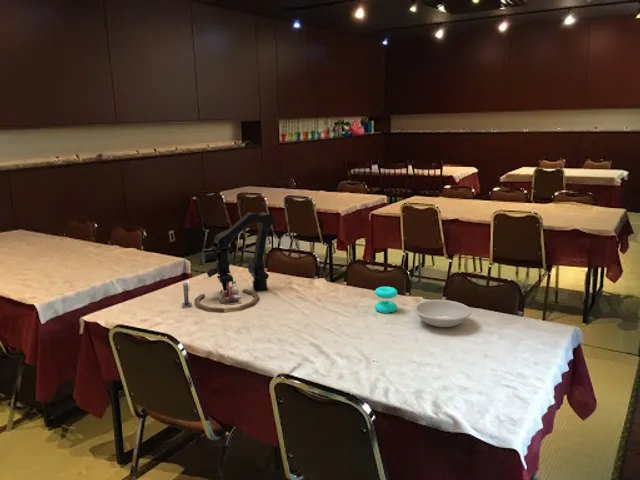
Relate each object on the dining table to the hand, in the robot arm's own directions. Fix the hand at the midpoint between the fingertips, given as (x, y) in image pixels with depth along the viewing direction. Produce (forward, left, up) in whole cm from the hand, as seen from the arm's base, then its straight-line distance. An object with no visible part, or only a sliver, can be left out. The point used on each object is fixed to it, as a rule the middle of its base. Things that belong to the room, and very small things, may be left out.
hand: (224, 290), depth 268 cm
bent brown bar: (0, +9, -3) cm, 9 cm away
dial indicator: (+19, +7, -3) cm, 20 cm away
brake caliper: (-1, +7, -3) cm, 8 cm away
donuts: (-66, +45, -3) cm, 80 cm away
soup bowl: (-81, +68, -3) cm, 106 cm away
